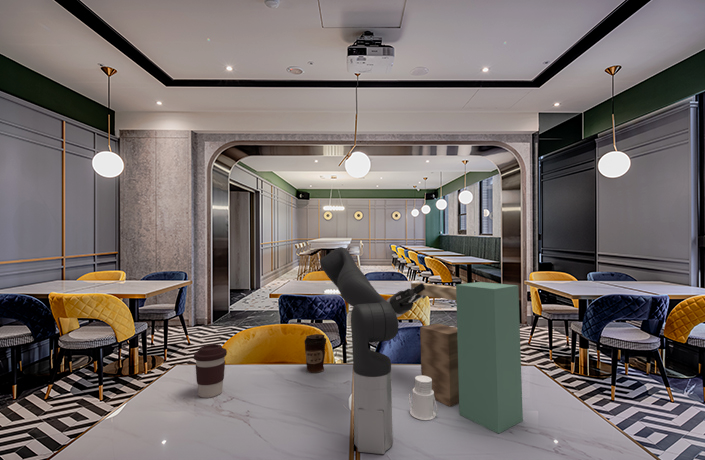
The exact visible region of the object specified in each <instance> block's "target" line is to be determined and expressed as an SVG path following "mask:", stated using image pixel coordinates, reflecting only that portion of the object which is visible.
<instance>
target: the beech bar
mask: <svg viewBox="0 0 705 460" xmlns="http://www.w3.org/2000/svg"><path fill="white" fill-rule="evenodd" d="M421 283H423V284H424V287H425V289H424V290H423V291H421V292H420V293H418V295H424V296H426V297H430V298H431V297H432V298H438V299H443V300H449V301H455V302H456V286H452V285H443V284H437V283H435V284H434V283H432V284H428V283H429V282H428V283H426V282H418V281H417V282H411V283H410V289H411V288H413V287H416V286H418V285H419V284H421Z"/></svg>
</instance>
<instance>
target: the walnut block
mask: <svg viewBox="0 0 705 460" xmlns="http://www.w3.org/2000/svg"><path fill="white" fill-rule="evenodd" d="M419 329H420V333H419V334H420V376H421V375H422V376H428V377H430V378H431V379H432V390H433V391H434V397H435V401H436V402H439V403H441V404H444V405H445V406H448V407H449V408H452V407H454V406H456V405H459V377H458V340H457V327H454V326H450V325H446V324H441V323H437V322H436V323H433V324H427V325H422V326H420V327H419Z"/></svg>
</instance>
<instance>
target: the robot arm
mask: <svg viewBox="0 0 705 460" xmlns="http://www.w3.org/2000/svg"><path fill="white" fill-rule="evenodd" d="M319 263H320V266H321V269H322V270H323V272H324V273H325V275H326V276H327V278H328V279H329V280H330V281H331V282H332V283H333V284H334V286H335V287H336V288H337V289H338V292H339V293H340V295H341V298H342V299H343V301H345V303H347V304H348V305H349V306H351V307H352V309H351V312H350V329H351V344H352V346H351V349H352V362H353V364H352V365H353V366H352V368H353V369H352V371H353V372H352V374H353V427H354V428H353V429H354V431H353V433H354V434H353V435H354V440H353V441H354V445H355V447H356V449H357V452H359V453H367V454H368V453H369V454H377V455H384V454H385V452H386V451H388V450H390V448H391V447H392V446H393V443H394V442H393V440H394V439H393V438H394V437H393V400H392V399H393V397H392V361H391V358H390V356H388V355H386V354H384V353H382V352H378V351H374V350H371V348H369V344H370V343H381V342H387V341H391V340H393V339H395V338H396V336H397V334H398V332H399V319H398V318H399V317H401V316H402V315H404V314H406V313H408V312H409V311H411V310H412V309H413V307H414V303H416V302H417V301H418V300H420V299H423V300H424V299H425V298H426V297H427V296H424V295H418V293H420V292H421V291H423V290H424V289H425V287H424V284H423V283H424V282H420V283H421V284H419V285H418V286H416V287H413V288H411V287H410V288H407V289H405V290H398V291H397V292H396V293H395V294H393V295H392V296H390V297H389V298H387V299H385V298H384V297H383V296H382V295H381V294H380V293H379V292H378V291H377V290H376V288H374V286H373V285H372V284H371V282H370V281H369V279H368V277H366V275H365V274H364V272H362V270H361V269H360V268H359V267H358V265H357V263H356V262H355V260H354V258H353V256H352V254H351V253H350V252H349V250H347V249H346V248H345V247H344V246H343V247H342V246H340V247H339V246H338V247H337V248H335V249H334V250H332V251H330V252H329V253H327V254H326V255H325V256H323V257H321V258H320V260H319ZM428 284H433V282H432V281H430V282H428Z"/></svg>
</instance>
